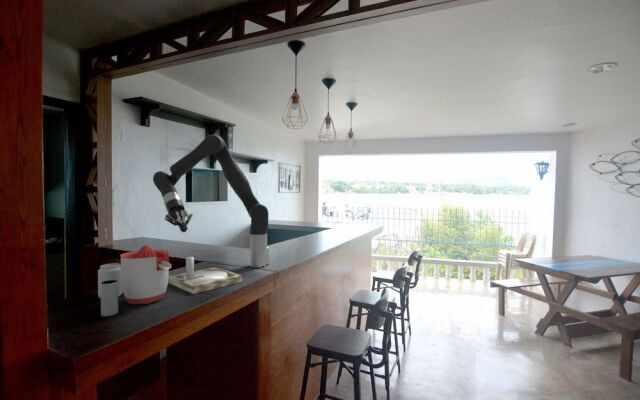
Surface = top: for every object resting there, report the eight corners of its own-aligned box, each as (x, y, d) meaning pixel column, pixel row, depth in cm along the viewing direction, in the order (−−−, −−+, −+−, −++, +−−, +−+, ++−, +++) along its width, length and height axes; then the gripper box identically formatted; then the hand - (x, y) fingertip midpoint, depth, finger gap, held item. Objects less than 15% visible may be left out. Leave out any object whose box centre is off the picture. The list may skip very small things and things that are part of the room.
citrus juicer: (152, 309, 102) (152, 249, 101) (108, 305, 105) (108, 247, 105) (182, 294, 117) (182, 242, 117) (143, 291, 120) (143, 240, 120)
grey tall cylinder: (115, 309, 101) (115, 278, 101) (120, 313, 98) (120, 281, 98) (99, 314, 98) (98, 281, 98) (103, 317, 95) (103, 284, 95)
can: (113, 300, 111) (113, 267, 110) (93, 300, 111) (92, 266, 110) (127, 293, 118) (126, 262, 118) (107, 293, 118) (107, 262, 118)
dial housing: (215, 273, 149) (215, 266, 149) (242, 282, 134) (242, 274, 134) (168, 283, 132) (168, 275, 132) (192, 294, 117) (192, 286, 117)
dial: (214, 271, 146) (214, 249, 146) (235, 278, 134) (235, 254, 134) (175, 279, 132) (175, 255, 132) (195, 287, 120) (195, 261, 120)
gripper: (161, 198, 141) (172, 226, 133) (189, 198, 151) (201, 224, 143) (156, 209, 145) (167, 237, 137) (184, 208, 154) (196, 235, 146)
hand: (184, 231), depth 140 cm, fingers closed
